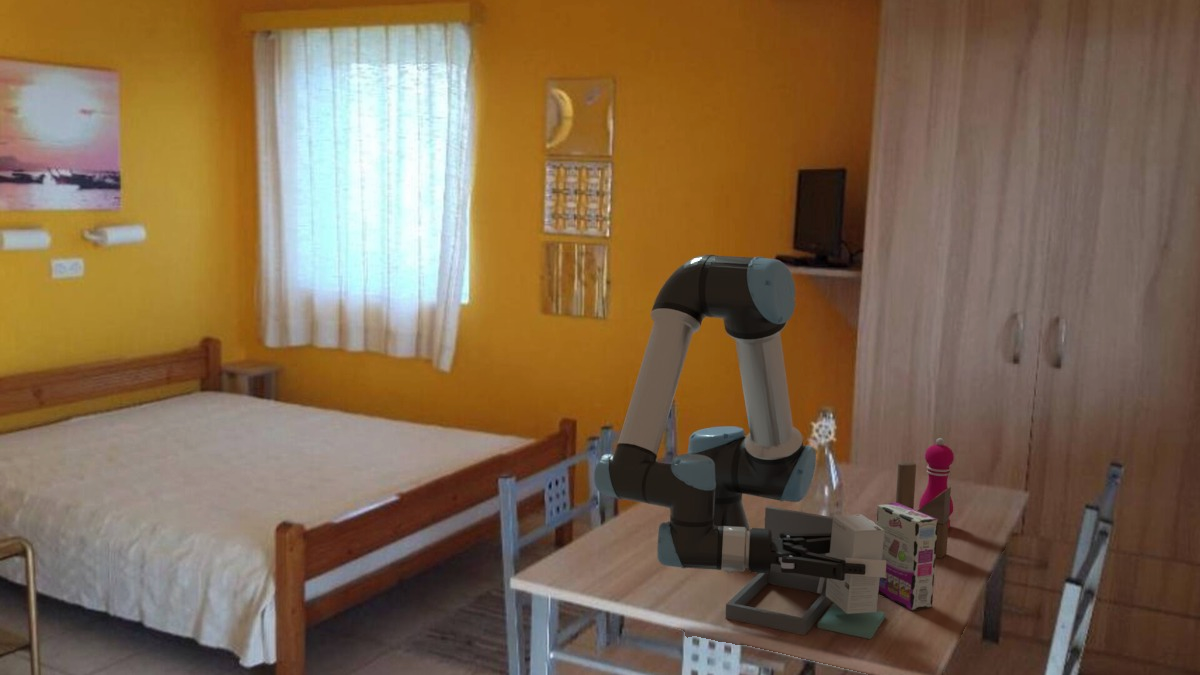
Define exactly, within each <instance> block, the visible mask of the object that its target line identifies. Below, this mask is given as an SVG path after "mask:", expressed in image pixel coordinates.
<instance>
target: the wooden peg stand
mask: <svg viewBox="0 0 1200 675" xmlns="http://www.w3.org/2000/svg"><path fill="white" fill-rule="evenodd" d="M916 473H917V464H916V463H915V462H912V461H909V460H908V461H907V460H904V461H903V460H902V461H899V462H898V463H897V475H896V476H897V477H896V490H895V493H896V494H895V497H896V498H895V503H899V504H902V505H904V506H907V507H909V508H911V509H914V507H915V490H916V477H917V476H916ZM951 492H952V488H951V487H950V486H949V487H948V489H946V490H945V491H943V492H942V493H941V494H939V495H938V496H937V497H935V498H934V499H933V500H931V501H930V502H929V503H927V504H926V505H925V506H923V507H922V508H920V509H919V508H918V510H917V511H919V512H921V513H924V514H926V515H929V516H931V517H933V518H936V519H938V526H937V540H936V556H935V558H937V559H942V558H943V557H944V556H946V555H947V553H948V552H947V550H948V538H949V537H948V536H949V529H948V524H949V522H948V520H949V519H950V516H949V509H950V496H951V494H952V493H951ZM914 510H915V509H914ZM945 554H946V555H945Z"/></svg>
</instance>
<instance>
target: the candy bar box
mask: <svg viewBox="0 0 1200 675" xmlns="http://www.w3.org/2000/svg"><path fill="white" fill-rule="evenodd" d="M876 517H877V518H876V525H878V526H879V527H880V528H882V529H883V530H885V532H884V542H883V551H882V560H886V576H885V578H882V577H880V581H879V591H878V594H880V595H882V596H884V597H886V598H888V599H889V600H891V601H894V602H895V603H897V604H899V605H901V606H903V607H905V608H907V609H908V610H910V611H916V610H917V611H918V610H924V609H929V608H933V600H934V598H933V597H934V596H933V595H934V585H935V584H934V583H935V582H934V580H935V571H936V570H935V568H936V557H935V556H936V540H937V526H938V519H936V518H933V517H931V516H929V515H926V514H924V513H921V512H919V511H918V510H917V509H911V508H909V507H907V506H904V505H902V504H899V503H896V502H891V503H885V504H877V514H876Z"/></svg>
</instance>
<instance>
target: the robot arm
mask: <svg viewBox="0 0 1200 675" xmlns="http://www.w3.org/2000/svg"><path fill="white" fill-rule="evenodd" d="M795 297H796V287H795V281H794V277H793V275H792V272H791V270H790V269H789V267H788V266H787V265H786V264H785V263H784V262H782V261H781V260H779V259H775V258H766V257H764V256H755V257H750V256H747V257H746V256H732V255H730V256H729V255H715V254H702V255H699V256H695V257H693V258H690V259H688V261H686V262H684V263H683V264H682V265H680V266H679V267H678V268H676V270H674V272H673V273H672V274H671V275H670V276H669V277H668V279H666V280H665V283H664V284H663V286H662V287H661V288H660V290H659V291H658V293H657V296H656V297H655V300H654V303H653V306H652V308H651V312H650V318H651V320H652V321H653V325H652V328H651V332H650V335H649V337H648V342H647V344H646V347H645V350H644V354H643V358H642V362H641V365H640V367H639V371H638V375H637V377H636V382H635V384H634V388H633V391H632V394H631V397H630V398H631V399H630V401H629V405H628V407H627V408H628V409H627V412H626V414H625V419H624V422H623V425H622V429H621V432H620V435H619V438H618V442H617V445H616V447H615V450H614V453H604V454H603V455H601V457H600V458H599V460H598V461H597V462H596V463H595V468H594V471H593V481H594V486H595V488H596V490H597V491H598V492H599V493H600V494H602V495H604V496H608V497H613V498H616V499H618V500H625V501H631V502H632V501H633V502H637V503H638V502H639V503H643V504H648V505H653V506H658V507H663V508H669V509H670V510H669V511H670V512H669V513H670V514H669V521H667V522H665V521H664V522H661V523H660V524H659V526H658V531H657V532H658V534H657V547H656V548H657V550H656V551H657V553H656V554H657V560H658V562H659V564H661V565H662V566H668V567H674V568H681V569H698V570H699V569H701V570H717V571H726V572H727V573H728V574H732V573H733V572H744V571H746V569H748V571H749V572H750V573H755V574H759V573H769V572H770V569H771V564H776V565H781V572H783V573H797V574H804V575H810V576H817V577H823V578H830V579H836V580H840V581H843V580H845V575H852V576H867V577H882V578H885V576H886V560H873V559H858V558H845V560H841V559H837V558H833V557H829V556H824V555H820V554H824V553H830V544H831V534H832V533H816V534H789V533H780V534H779V539H772V532H771V530H770V529H765V528H761V527H751V528H750V525H749V521H748V518H747V514H746V511H745V507H744V504H743V495H749V496H755V497H760V498H765V499H770V500H775V501H780V502H791V503H797V502H800V501H802V500H803V499H804V498H805V497H806V495H807V493H808V492H809V490H810V488H811V485H812V481H813V478H814V475H815V470H816V462H817V453H816V450H815V448H814V447H813V446H810V445H804V440H803V435H802V433H801V432H800V430H799V429H797V428H796V427H794V425H793V417H792V416H793V415H792V409H791V402H790V395H789V387H788V379H787V374H786V366H785V359H784V350H783V344H782V338H781V332H783V331H784V329H785V327H786V326H787V323H788V321H790V320H791V318H792V316H793V314H794V310H795V307H796V301H795ZM707 317H708V318H717V319H722V320H723V325H724V330H725V333H726V334H727V335H728V337H730V338H732V339H734V342H735V348H736V354H737V355H736V356H737V360H738V367H739V372H740V379H741V384H742V392H743V397H744V398H743V399H744V402H745V403H744V404H745V410H746V416H747V421H748V427H749V428H748V429H749V433H748V434H747V435H746V432H745V429H744V428H743V427H740V426H734V425H733V426H732V425H731V426H729V425H727V426H712V427H707V428H702V429H698V430H696V431H694V432H693V433H692V434H690V436H689V437H688V438H689V439H688V449H687V453H683V454H679V455H676V456H674V457H673V459H672V460H671V463H667V462H663V461H662V462H660V461H657V457H658V453H659V450H660V447H661V444H662V439H663V436H664V433H665V430H666V426H667V422H668V419H669V416H670V412H671V409H672V405H673V402H674V398H675V395H676V392H677V388H678V385H679V381H680V378H681V376H682V375H681V374H682V372H683V368H684V364H685V360H686V358H687V354H688V350H689V348H690V345H691V340H692V338H693V334H694V333H696V332H698V331H700V328H701V327H702V321H703V320H704V319H705V318H707Z"/></svg>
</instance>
